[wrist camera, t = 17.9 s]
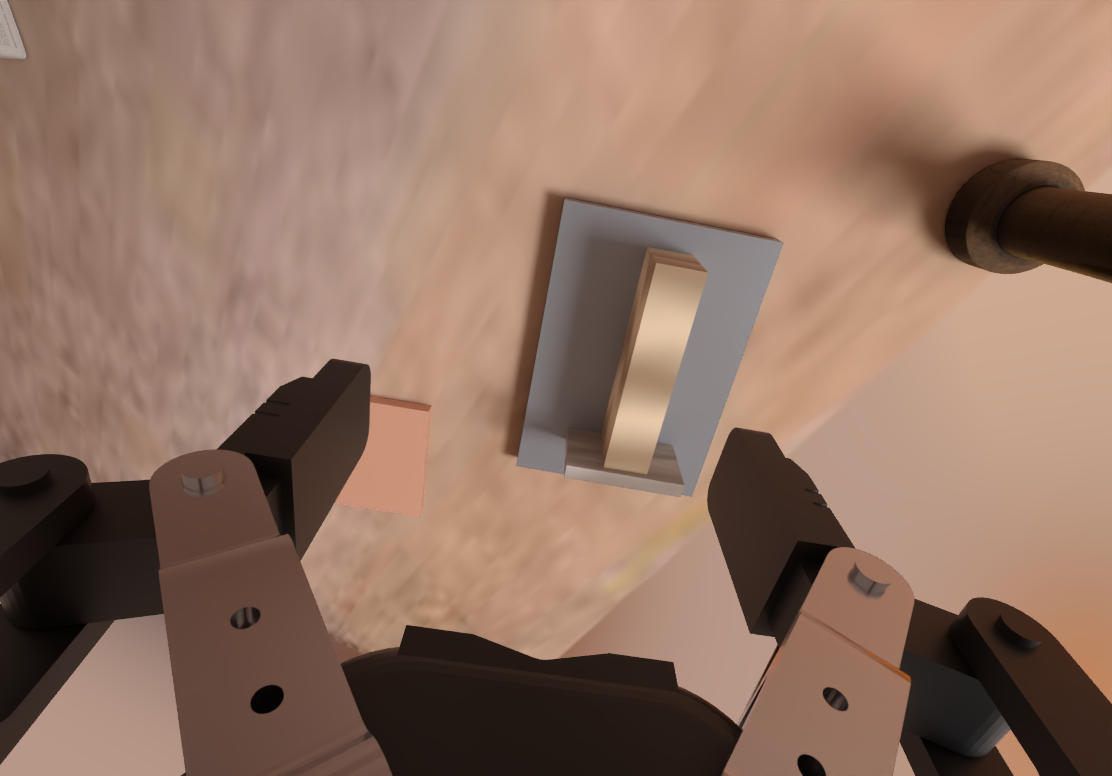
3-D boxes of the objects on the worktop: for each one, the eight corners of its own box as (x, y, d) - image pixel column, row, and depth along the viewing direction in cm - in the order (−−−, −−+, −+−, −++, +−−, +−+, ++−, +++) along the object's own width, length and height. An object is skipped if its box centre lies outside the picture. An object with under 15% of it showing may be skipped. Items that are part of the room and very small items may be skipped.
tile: (321, 394, 41) (323, 501, 45) (428, 411, 41) (420, 516, 45) (329, 385, 42) (330, 490, 46) (432, 403, 42) (424, 505, 47)
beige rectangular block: (608, 239, 35) (613, 256, 30) (731, 262, 35) (753, 282, 31) (565, 438, 41) (564, 477, 37) (669, 456, 42) (680, 497, 37)
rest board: (564, 197, 35) (564, 199, 34) (777, 239, 36) (783, 242, 34) (517, 457, 44) (516, 465, 42) (689, 487, 44) (691, 496, 43)
